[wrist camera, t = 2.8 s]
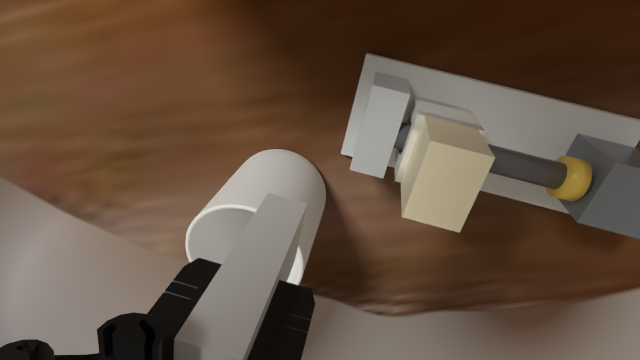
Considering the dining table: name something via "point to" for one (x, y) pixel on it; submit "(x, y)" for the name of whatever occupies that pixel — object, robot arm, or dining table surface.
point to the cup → (246, 196)
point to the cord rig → (509, 141)
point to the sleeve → (441, 163)
